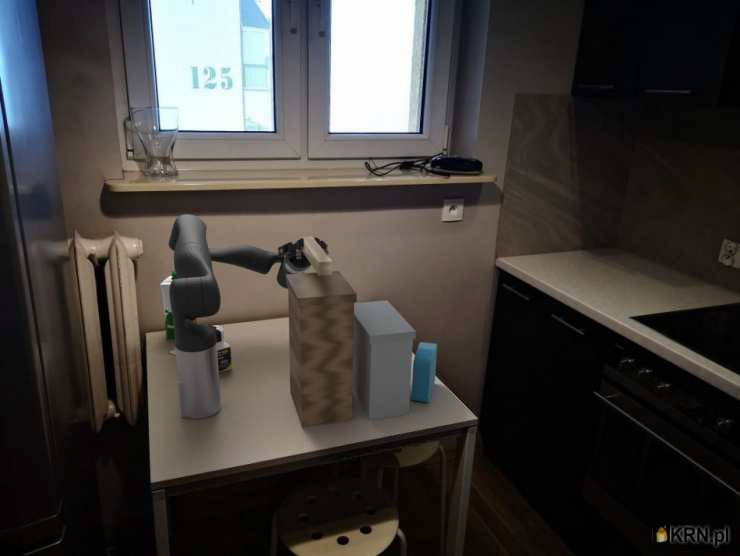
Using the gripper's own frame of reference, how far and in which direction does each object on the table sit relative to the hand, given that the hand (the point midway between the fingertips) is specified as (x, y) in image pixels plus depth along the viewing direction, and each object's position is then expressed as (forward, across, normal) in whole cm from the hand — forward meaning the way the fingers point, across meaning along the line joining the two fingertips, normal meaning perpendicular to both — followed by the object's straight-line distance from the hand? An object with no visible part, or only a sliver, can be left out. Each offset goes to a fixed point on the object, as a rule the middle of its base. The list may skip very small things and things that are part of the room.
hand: (309, 241), depth 137 cm
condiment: (-43, +31, -20) cm, 57 cm away
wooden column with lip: (-9, 0, -40) cm, 41 cm away
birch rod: (+4, 0, -6) cm, 7 cm away
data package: (-9, -28, -40) cm, 49 cm away
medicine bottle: (-33, +24, -26) cm, 48 cm away
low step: (-10, -15, -39) cm, 43 cm away
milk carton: (-54, +33, -14) cm, 65 cm away
